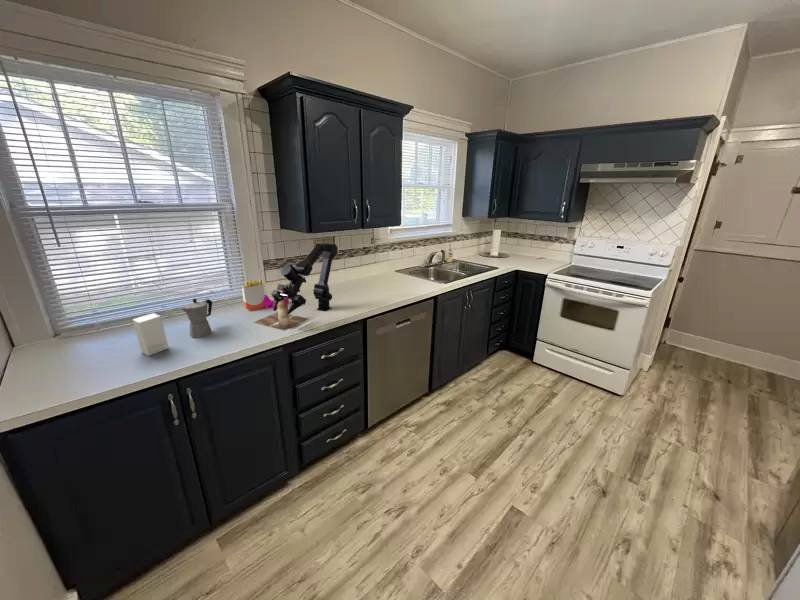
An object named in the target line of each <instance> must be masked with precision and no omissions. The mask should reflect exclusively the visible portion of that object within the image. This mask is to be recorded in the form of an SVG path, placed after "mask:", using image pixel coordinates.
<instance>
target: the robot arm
mask: <svg viewBox="0 0 800 600" xmlns="http://www.w3.org/2000/svg"><path fill="white" fill-rule="evenodd" d="M338 251H339V250H338V246H337V244H335V243H329V242H325V243H319V242H317V243H316V244H315V246H314V248H313V249H312V250H311V251H310V253H309V254H308V255H307V256H306V258H304V259H303V260H301V261H299V262H298V263H296V264H295V266H294V265H293V264H292V263H287V264H286V265H285V266H283V267H282V268H281V269H280V274H281V275H282V276H283V277H284V278H285V279H286V280H288V281H289V283H286V284H282V283H278V284H277V288H276V290H272V291H271V292H270V295H271V296H272V298H273V300H274V307H272V311H274V312H276V311H278V309H277V304H278V302H280V301H282V300H283V299H284V298H286V299H289V300H291V304H290V306H289V307H288V312H287V314H292V313H293V312H294V311H295V310H296V309H298V308H299V307H302V306H305V305H306V303H307V299H306V298H305V297H304V296H303V295H302V294H299V293H301V287H302V285H303V283H307V280H306V277H307V276H309V275H310V274H311V272H312V271H313V265H314V264H315V263H316V261H317V260H318V259H319V257H320V256H321V255H322V256H323V260H322V264H321V270H320V275H319V279H318V282H317V283H315V284H314V286H313V289H312V292H313V293H312V294H313V295H314V298H315V300H318V302H317V303H318V304H317V305H318V308H316V310H318V311H322V312H327V311H329V310H331V309H332V306H330V301H331V300H333V295H332V293H331V292H330V287H329V284H328V282H329V277H330V273H331V267H332V263H333V259H335V257H336V256H337V252H338ZM305 276H306V277H305ZM282 293H284V294H282ZM286 296H287V297H286Z"/></svg>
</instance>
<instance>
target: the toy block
mask: <svg viewBox="0 0 800 600" xmlns="http://www.w3.org/2000/svg"><path fill="white" fill-rule="evenodd" d="M281 293H282V292H281ZM282 294H284V293H282ZM286 297H287V296H286ZM282 301H285V302H287V304H288V303H289V304H290V299H286V298H284V299H283V300H282ZM264 305H265V306H264V308H265V310H266V309H270V308H272V309H273V308H274V299H273V300H271V299H270V297H269V296H268V295H266V294H265V297H264Z"/></svg>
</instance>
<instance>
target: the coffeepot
mask: <svg viewBox="0 0 800 600" xmlns="http://www.w3.org/2000/svg"><path fill="white" fill-rule="evenodd" d="M212 307H213V301H212V300H210V299H209V298H207V299H204V300H201V301H197V298H193V299H192V302H190V303H187V304H185V305H183V308H182V312H184V313H186V317H187V319H188V320H189V322H190V323H189V336H190V337H191V338H194V339H202V338H205V337H208V336H210V335H211V334H212V332H213V330H212V328H211V325H210V323H209V321H208V319H207V317H209V316H211V315H212Z"/></svg>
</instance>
